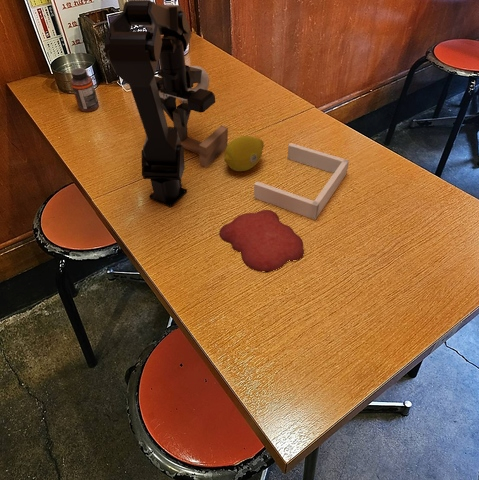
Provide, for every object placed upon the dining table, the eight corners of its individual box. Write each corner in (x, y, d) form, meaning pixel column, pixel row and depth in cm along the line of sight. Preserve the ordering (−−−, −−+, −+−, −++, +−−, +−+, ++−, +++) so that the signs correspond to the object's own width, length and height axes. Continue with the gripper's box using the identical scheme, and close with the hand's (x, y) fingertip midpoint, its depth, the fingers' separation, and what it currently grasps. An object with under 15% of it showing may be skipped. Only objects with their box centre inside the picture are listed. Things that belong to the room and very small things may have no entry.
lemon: (230, 181, 108) (229, 153, 102) (218, 164, 113) (216, 136, 107) (271, 169, 111) (272, 141, 105) (257, 152, 116) (257, 125, 110)
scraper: (206, 167, 112) (205, 135, 105) (166, 151, 116) (163, 119, 109) (227, 147, 118) (228, 115, 111) (188, 132, 122) (187, 100, 115)
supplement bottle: (77, 105, 135) (65, 68, 127) (97, 100, 137) (87, 64, 129) (81, 114, 131) (69, 77, 123) (101, 109, 133) (91, 72, 125)
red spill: (212, 230, 97) (212, 223, 96) (265, 206, 102) (265, 199, 101) (259, 283, 87) (259, 276, 86) (315, 252, 92) (316, 246, 91)
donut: (207, 92, 139) (205, 60, 132) (212, 97, 137) (210, 65, 129) (177, 100, 136) (173, 68, 129) (181, 105, 134) (177, 73, 126)
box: (315, 219, 98) (317, 206, 95) (254, 197, 104) (254, 184, 101) (346, 174, 109) (348, 160, 106) (289, 156, 115) (290, 142, 112)
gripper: (225, 58, 104) (228, 118, 116) (161, 43, 111) (169, 101, 122) (199, 79, 98) (204, 140, 109) (132, 61, 105) (143, 121, 116)
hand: (180, 124), depth 114 cm, fingers closed on scraper, 2 cm apart
